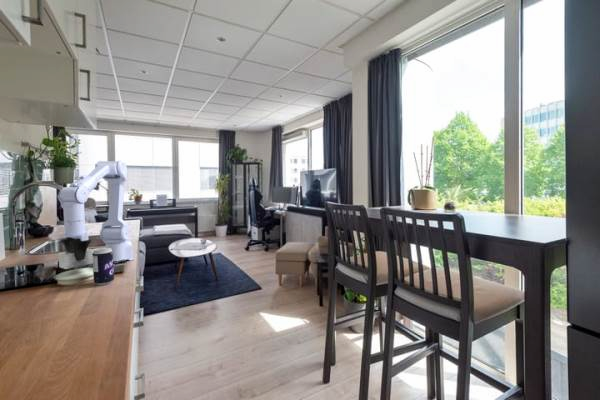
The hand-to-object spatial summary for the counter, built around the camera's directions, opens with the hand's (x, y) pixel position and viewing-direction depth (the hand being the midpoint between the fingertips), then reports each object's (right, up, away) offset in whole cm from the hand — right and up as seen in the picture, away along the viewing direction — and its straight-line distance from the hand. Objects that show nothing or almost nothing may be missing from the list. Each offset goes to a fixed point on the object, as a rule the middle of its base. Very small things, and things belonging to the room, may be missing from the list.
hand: (76, 258), depth 98 cm
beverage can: (+12, -8, -3) cm, 15 cm away
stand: (0, -8, 0) cm, 8 cm away
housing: (0, -2, 0) cm, 2 cm away
